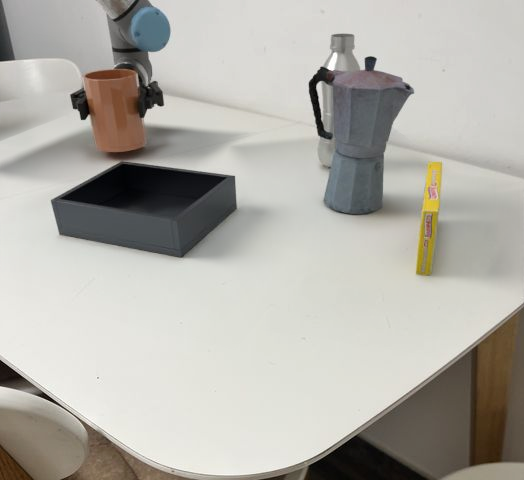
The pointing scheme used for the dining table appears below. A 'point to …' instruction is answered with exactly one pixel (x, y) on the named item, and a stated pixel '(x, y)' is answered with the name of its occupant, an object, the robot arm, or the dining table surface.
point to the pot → (114, 109)
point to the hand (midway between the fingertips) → (111, 110)
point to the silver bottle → (339, 61)
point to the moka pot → (359, 133)
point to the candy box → (429, 219)
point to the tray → (146, 207)
